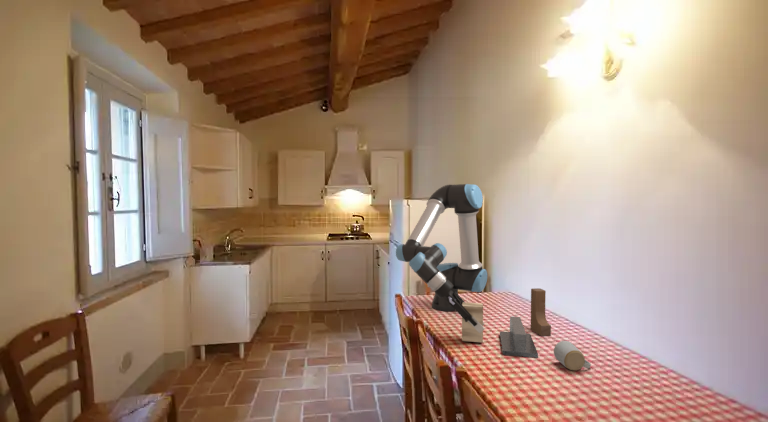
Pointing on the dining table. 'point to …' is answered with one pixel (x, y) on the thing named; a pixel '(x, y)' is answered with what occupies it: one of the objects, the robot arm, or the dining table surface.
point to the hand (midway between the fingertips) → (482, 328)
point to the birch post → (467, 329)
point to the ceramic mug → (570, 356)
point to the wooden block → (539, 313)
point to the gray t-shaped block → (517, 340)
